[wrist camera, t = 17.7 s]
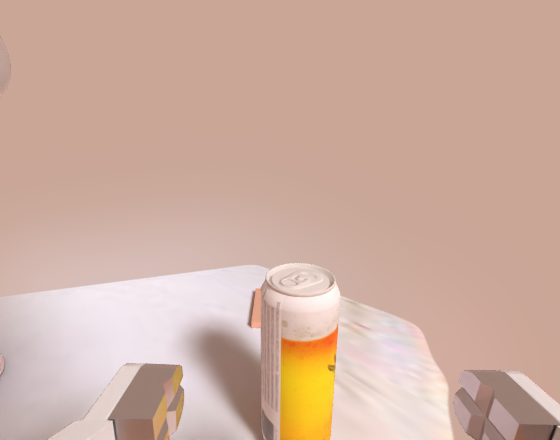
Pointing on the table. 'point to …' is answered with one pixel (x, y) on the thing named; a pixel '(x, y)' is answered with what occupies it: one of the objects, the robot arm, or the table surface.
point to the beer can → (298, 351)
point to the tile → (256, 310)
